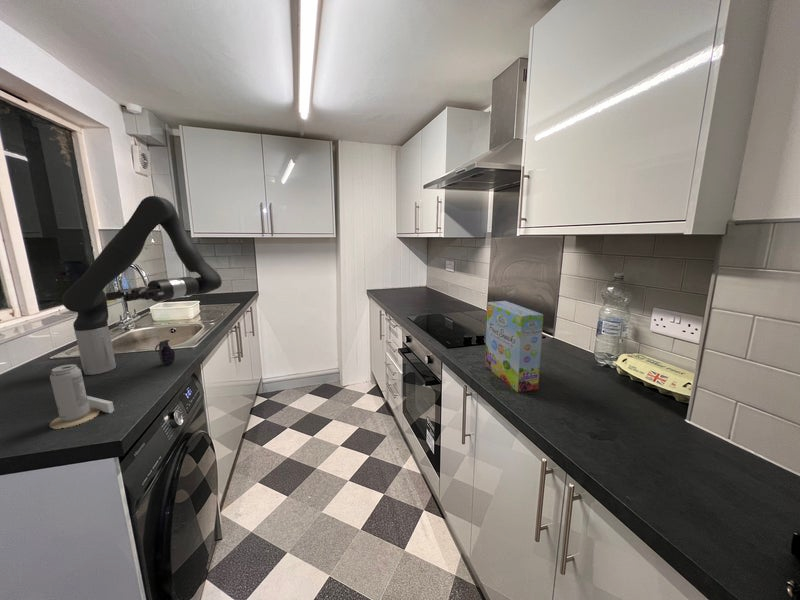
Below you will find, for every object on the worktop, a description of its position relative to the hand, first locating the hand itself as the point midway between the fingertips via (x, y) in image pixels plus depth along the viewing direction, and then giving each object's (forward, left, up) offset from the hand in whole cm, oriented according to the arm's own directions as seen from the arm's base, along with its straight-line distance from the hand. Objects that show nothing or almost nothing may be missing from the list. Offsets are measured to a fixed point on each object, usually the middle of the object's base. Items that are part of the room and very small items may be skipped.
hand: (115, 297), depth 100 cm
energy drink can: (+2, -16, -32) cm, 36 cm away
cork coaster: (+2, -16, -32) cm, 36 cm away
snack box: (+118, +49, -32) cm, 131 cm away
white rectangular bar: (-2, -11, -32) cm, 34 cm away
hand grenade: (-12, +20, -32) cm, 40 cm away
